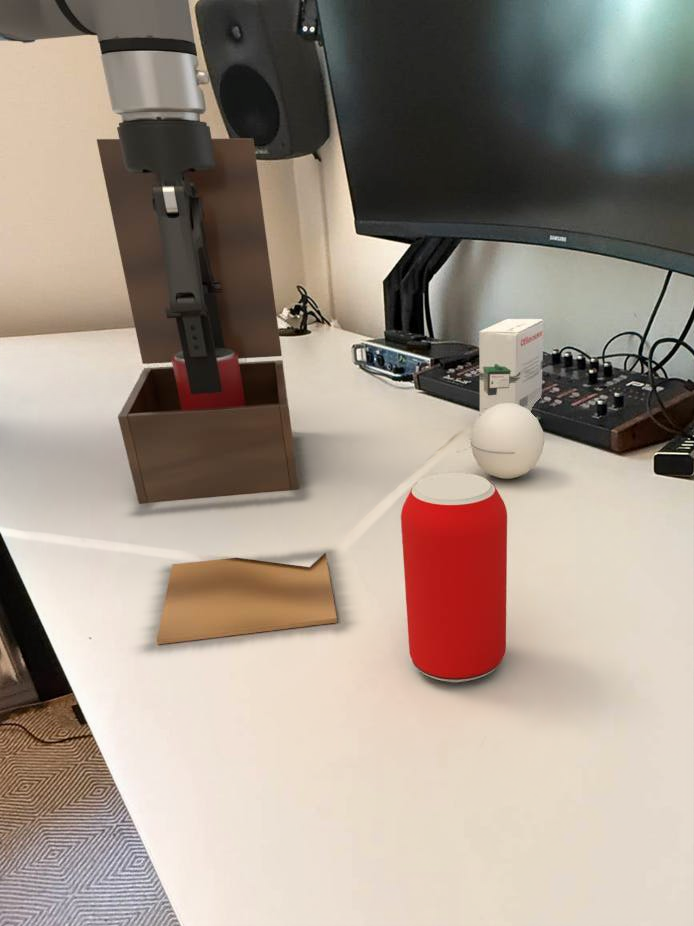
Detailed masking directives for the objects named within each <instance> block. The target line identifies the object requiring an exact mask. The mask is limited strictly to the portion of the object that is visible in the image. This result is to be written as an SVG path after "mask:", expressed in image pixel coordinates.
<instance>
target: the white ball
mask: <svg viewBox="0 0 694 926" xmlns="http://www.w3.org/2000/svg"><path fill="white" fill-rule="evenodd" d="M470 434H471V435H470V438H469V440H470V446H469V447H466V448H463V449H460V450H457V451H456V452H455V454H457V453H461V452H463V451H466V450H468V449H471V451H472V455H473V457H474V460H475V461H476V463H477V465H478V466H479V467H480V468H481V469H482V470H483V471H484V472H486V473H487V474H488V475H490V476H493V477H496V478H499V479H503V480H512V479H516V478H518V477H522V476H524V475H526V474H527V473H528V472H530V471H531V470H532V469H533V468H534V467H536V465H537V463H538V461H539V459H540V458H541V456H542V454H543V450H544V445H545V437H544V436H545V435H544V430H543V428H542V426H541V423H540V422H539V420H538V419H537V418H536V417H535V416H534V415H533V414H532V413H531V412H530V411H529V410H528V409H526V408H524V407H522V406H520V405H518V404H514V403H501V404H498V405H496V406H493V407H491V408H489V409H487V410H486V411H485V412H484V413H483V414H482V415H481V416H480V415H479V417H478V418H477V419H476V421H475V423H474V425H473V428H472V429H471V433H470Z"/></svg>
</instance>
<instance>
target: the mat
mask: <svg viewBox="0 0 694 926" xmlns="http://www.w3.org/2000/svg"><path fill="white" fill-rule="evenodd" d="M337 623H338V617H337V611H336V605H335V599H334V593H333V587H332V582H331V577H330V571H329V565H328V560H327V553H326V552H324V553H323V554H322V555H321V556H320V557H319V558H317V560H316V561H314V563H312V564H311V565H310V566H303V565H296V564H289V563H280V562H275V561H274V562H273V561H266V560H258V559H250V558H242V557H230V558H229V557H228V558H221V559H220V558H219V559H211V560H201V561H192V562H181V563H173V564H171V569H170V574H169V579H168V583H167V587H166V594H165V598H164V603H163V607H162V612H161V616H160V622H159V627H158V632H157V635H156V643H157V645H165V644H173V643H181V642H189V641H197V640H205V639H213V638H214V639H215V638H221V637H222V638H223V637H229V636H238V635H239V636H240V635H245V634H246V635H247V634H255V633H262V632H272V631H279V630H288V629H295V628H302V627H312V626H313V627H314V626H321V625H328V624H337Z"/></svg>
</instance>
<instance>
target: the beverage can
mask: <svg viewBox="0 0 694 926" xmlns="http://www.w3.org/2000/svg"><path fill="white" fill-rule="evenodd" d="M400 525H401V542H402V559H403V572H404V588H405V591H404V592H405V605H406V606H405V607H406V620H407V622H406V623H407V635H408V636H407V637H408V638H407V639H408V652H409V656H410V659H411V662H412V664H413V666H414V667H415V669H416V670H417V671H419V672H420V673H422V674H423V675H425V676H427V677H429V678H430V679H433V680H437V681H441V682H447V683H465V682H470V681H473V680H477V679H478V680H479V679H481V678H483V677H486V676H488V675H489V674H491V673H492V672H494V671H495V670H496V669H497V668H498V667H499V665H500V664H501V662H502V661H503V659H504V657H505V655H506V652H507V588H508V587H507V580H508V579H507V578H508V577H507V576H508V574H507V573H508V511H507V506H506V504H505V501H504V500H503V498H502V496H501V494H500V492H499V491H498V489H497V487H496V486H495V484H494V483H493V482H491V481H490V480H488V479H487V478H485V477H483V476H480V475H476V474H472V473H466V472H445V473H438V474H433V475H430V476H426V477H424V478H422V479H420V480H419V481H418V482H416V483H415V484H414V485H413V486H412V487H411V489H410V491H409V492H408V495H407V497H406V498H405V501H404V502H403V504H402V509H401V513H400Z"/></svg>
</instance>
